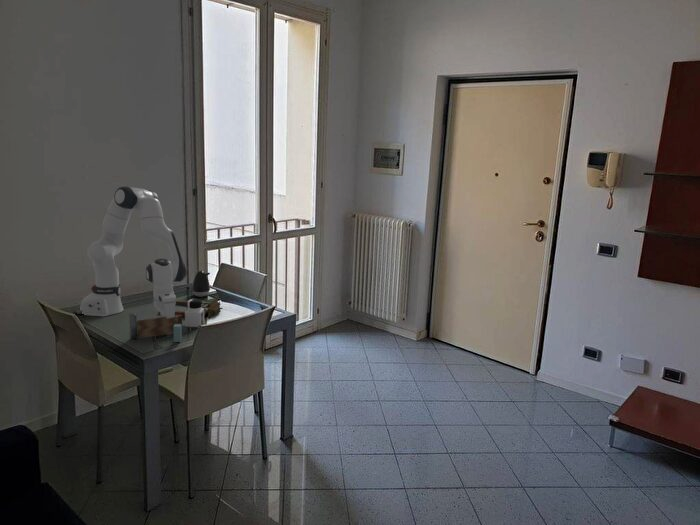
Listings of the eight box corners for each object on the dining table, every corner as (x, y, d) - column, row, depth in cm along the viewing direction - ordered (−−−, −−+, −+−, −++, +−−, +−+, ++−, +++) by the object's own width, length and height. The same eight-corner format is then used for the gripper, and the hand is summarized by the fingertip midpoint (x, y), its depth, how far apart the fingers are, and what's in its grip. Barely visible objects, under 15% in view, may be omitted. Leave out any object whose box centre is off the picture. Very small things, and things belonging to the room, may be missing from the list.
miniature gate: (180, 296, 295) (229, 298, 289) (181, 305, 296) (230, 307, 290) (153, 310, 269) (207, 313, 263) (154, 320, 270) (208, 323, 264)
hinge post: (129, 340, 237) (128, 315, 234) (131, 338, 239) (130, 313, 237) (136, 340, 237) (135, 315, 234) (138, 338, 240) (137, 313, 237)
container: (204, 322, 265) (204, 298, 262) (200, 327, 258) (200, 302, 255) (189, 321, 265) (188, 297, 262) (184, 326, 257) (184, 301, 254)
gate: (138, 338, 238) (137, 321, 237) (137, 337, 240) (136, 320, 238) (182, 331, 249) (181, 315, 248) (181, 330, 251) (181, 314, 249)
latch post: (173, 343, 237) (173, 326, 235) (175, 340, 240) (174, 324, 238) (180, 343, 237) (180, 326, 235) (181, 340, 240) (181, 324, 238)
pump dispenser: (208, 298, 304) (207, 273, 300) (190, 297, 303) (189, 272, 300) (212, 293, 314) (211, 269, 310) (194, 292, 313) (194, 268, 310)
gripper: (149, 288, 250) (150, 316, 253) (163, 300, 234) (164, 329, 237) (163, 287, 253) (163, 314, 257) (177, 298, 238) (177, 327, 241)
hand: (164, 321), depth 247 cm, fingers closed
